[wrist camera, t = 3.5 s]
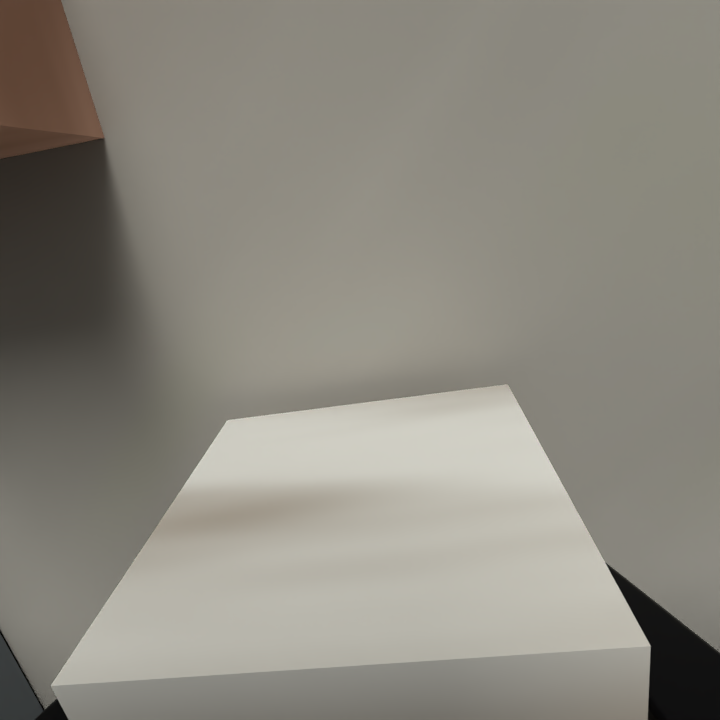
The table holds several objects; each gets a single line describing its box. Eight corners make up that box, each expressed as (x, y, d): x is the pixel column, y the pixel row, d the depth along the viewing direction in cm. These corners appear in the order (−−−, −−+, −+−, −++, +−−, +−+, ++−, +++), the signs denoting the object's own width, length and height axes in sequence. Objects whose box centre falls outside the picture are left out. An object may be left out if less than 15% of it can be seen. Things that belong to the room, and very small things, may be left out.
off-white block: (524, 606, 10) (637, 978, 5) (287, 625, 11) (206, 975, 6) (507, 384, 8) (650, 644, 4) (227, 420, 9) (49, 686, 4)
